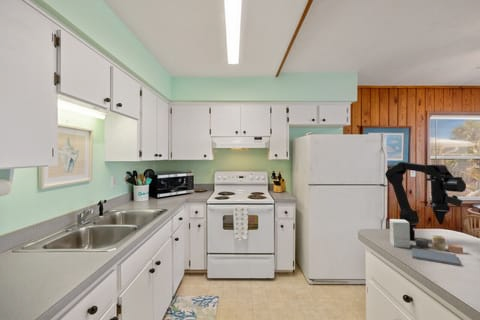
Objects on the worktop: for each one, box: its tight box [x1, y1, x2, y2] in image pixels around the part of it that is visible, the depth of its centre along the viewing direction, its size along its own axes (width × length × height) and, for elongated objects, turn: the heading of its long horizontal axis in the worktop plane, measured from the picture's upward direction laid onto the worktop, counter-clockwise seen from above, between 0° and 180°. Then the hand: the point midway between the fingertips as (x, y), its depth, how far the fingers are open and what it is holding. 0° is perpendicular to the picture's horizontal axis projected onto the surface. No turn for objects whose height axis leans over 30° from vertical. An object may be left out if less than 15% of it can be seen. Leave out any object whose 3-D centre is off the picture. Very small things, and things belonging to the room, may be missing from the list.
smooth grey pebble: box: [415, 238, 429, 249], centre depth 125 cm, size 5×5×3 cm
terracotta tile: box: [447, 243, 464, 255], centre depth 117 cm, size 5×3×3 cm, turn 56°
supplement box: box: [389, 218, 411, 249], centre depth 127 cm, size 7×7×13 cm
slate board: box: [411, 247, 461, 267], centre depth 111 cm, size 16×12×1 cm
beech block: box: [431, 234, 446, 252], centre depth 121 cm, size 4×4×6 cm
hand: (439, 222), depth 120 cm, fingers open, 9 cm apart
